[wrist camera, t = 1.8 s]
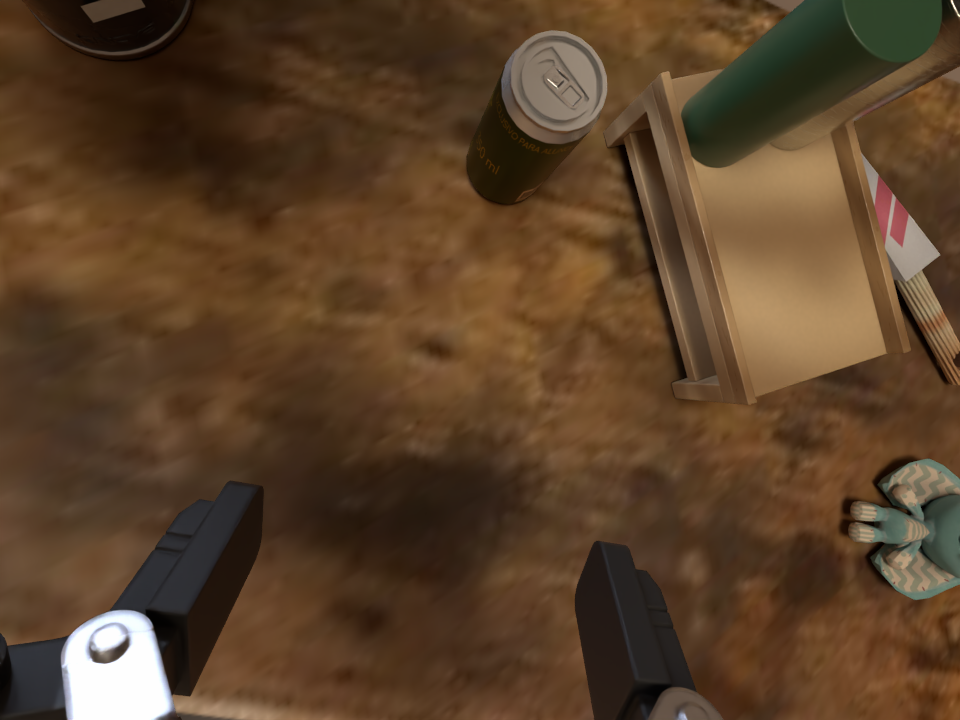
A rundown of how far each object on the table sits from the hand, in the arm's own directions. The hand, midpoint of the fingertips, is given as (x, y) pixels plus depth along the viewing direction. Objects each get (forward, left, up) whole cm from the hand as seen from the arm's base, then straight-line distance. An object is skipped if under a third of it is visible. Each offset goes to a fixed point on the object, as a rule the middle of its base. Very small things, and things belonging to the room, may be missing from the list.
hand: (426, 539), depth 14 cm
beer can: (-15, +12, -24) cm, 31 cm away
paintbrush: (0, +41, -24) cm, 48 cm away
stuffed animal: (+19, +36, -24) cm, 47 cm away
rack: (-6, +26, -24) cm, 36 cm away
